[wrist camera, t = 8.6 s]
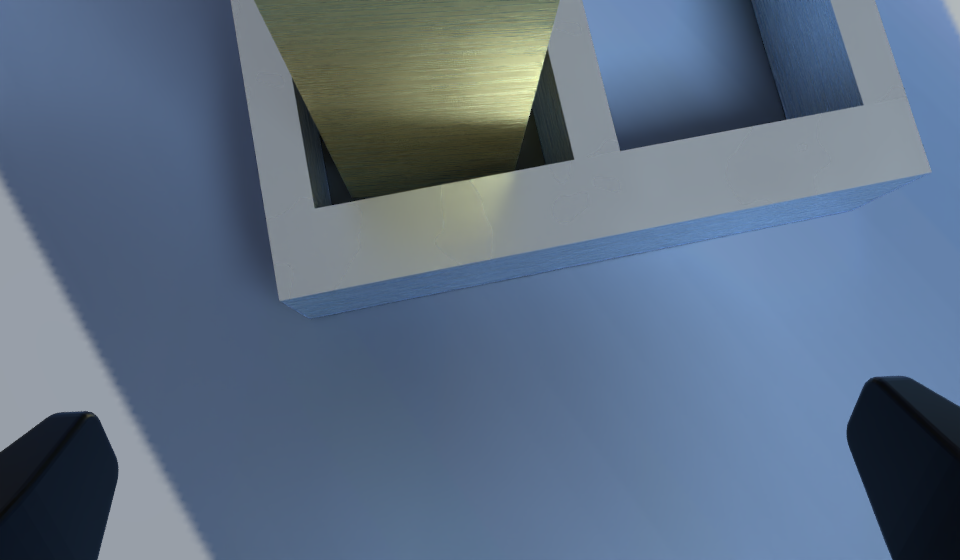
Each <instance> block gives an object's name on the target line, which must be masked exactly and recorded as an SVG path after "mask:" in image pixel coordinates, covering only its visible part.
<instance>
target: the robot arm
mask: <svg viewBox="0 0 960 560" xmlns="http://www.w3.org/2000/svg"><path fill="white" fill-rule="evenodd" d="M847 441H848V445H849V448H850V451H851V453H852V456H853V459H854V461H855V464H856V466H857V469H858V472H859V474H860V477H861V480H862V482H863V485H864V487H865V490H866V493H867V495H868V498H869V501H870V503H871V506H872V508H873V511H874V514H875V516H876V519H877V522H878V524H879V527H880V530H881V532H882V535H883V537H884V540H885V543H886V545H887V547H888V550H889V552H890V555H891V557H892V559H893V560H960V406H958V405H956V404H954V403H953V402H951V401H949V400H947V399H946V398H944V397H942V396H941V395H939V394H937V393H935V392H934V391H932V390H930V389H929V388H927V387H925V386H923V385H922V384H920V383H918V382H916V381H915V380H913V379H911V378H909V377H905V376H884V377H873V378H871V379H869V380H868V381H867V382H866V383H865V384H864V386H863V389H862V391H861V393H860V396H859V398H858V400H857V403H856V405H855V407H854V410H853V412H852V415H851V417H850V419H849V422H848V425H847ZM117 479H118V462H117V458H116V456H115V454H114V451H113V449H112V447H111V444H110V442H109V440H108V438H107V436H106V433H105V431H104V429H103V427H102V425H101V422H100V420H99V419H98V417H97V416H96V415H94V414H93V413H92V412H88V411H84V412H61V413H56V414H53V415H51V416H49V417H48V418H46V419H45V420H43V421H42V422H41V423H39V424H38V425H36V426H35V427H34V428H32V429H31V430H30V431H28V432H27V433H26V434H24V435H23V436H22V437H20V438H19V439H18V440H16V441H15V442H14V443H12V444H11V445H10V446H8V447H7V448H5V449H4V450H3V451H1V452H0V560H97V559H98V555H99V551H100V547H101V543H102V539H103V535H104V531H105V527H106V524H107V520H108V515H109V512H110V508H111V504H112V500H113V496H114V491H115V488H116V484H117Z"/></svg>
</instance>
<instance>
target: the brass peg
mask: <svg viewBox="0 0 960 560" xmlns="http://www.w3.org/2000/svg"><path fill="white" fill-rule="evenodd" d="M559 1H560V0H254V2H255V4H256V6H257V8H258V10H259V12H260V14H261V16H262V18H263V20H264V22H265V24H266V26H267V28H268V30H269V32H270V34H271V36H272V38H273V40H274V42H275V44H276V46H277V48H278V50H279V52H280V54H281V56H282V58H283V60H284V62H285V64H286V66H287V68H288V70H289V72H290V74H291V76H292V78H293V80H294V82H295V84H296V86H297V88H298V90H299V92H300V94H301V96H302V98H303V100H304V102H305V104H306V106H307V108H308V110H309V112H310V114H311V116H312V118H313V120H314V122H315V124H316V126H317V128H318V130H319V132H320V135H321V137H322V139H323V141H324V143H325V145H326V147H327V149H328V151H329V153H330V155H331V157H332V159H333V161H334V163H335V165H336V167H337V169H338V171H339V173H340V175H341V177H342V179H343V181H344V183H345V185H346V187H347V189H348V191H349V193H350V195H351V197H352V198H363V197H377V196H385V195H390V194H395V193H401V192H406V191H411V190H416V189H422V188H427V187H432V186H438V185H443V184H448V183H454V182H459V181H464V180H470V179H475V178H480V177H485V176H491V175H496V174H501V173H507V172H512V171H515V168H516V164H517V160H518V157H519V153H520V149H521V145H522V142H523V138H524V134H525V130H526V126H527V123H528V119H529V115H530V111H531V107H532V104H533V100H534V96H535V92H536V89H537V85H538V81H539V77H540V73H541V70H542V66H543V62H544V58H545V54H546V51H547V47H548V43H549V39H550V35H551V32H552V28H553V24H554V20H555V17H556V13H557V9H558V5H559Z"/></svg>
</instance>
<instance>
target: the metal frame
mask: <svg viewBox="0 0 960 560" xmlns="http://www.w3.org/2000/svg"><path fill="white" fill-rule="evenodd" d="M751 3H752V6H753V10H754V13H755V16H756V20H757V23H758V26H759V30H760V33H761V36H762V40H763V43H764V46H765V50H766V53H767V56H768V60H769V63H770V67H771V70H772V73H773V77H774V80H775V83H776V87H777V90H778V93H779V97H780V100H781V103H782V107H783V110H784V113H785V117H786V120H783V121H777V122H772V123H767V124H762V125H756V126H751V127H746V128H740V129H735V130H730V131H724V132H719V133H714V134H708V135H703V136H698V137H693V138H687V139H682V140H677V141H671V142H666V143H661V144H655V145H650V146H645V147H639V148H634V149H629V150H624V151H620V148H619V144H618V140H617V136H616V132H615V129H614V125H613V121H612V117H611V113H610V109H609V105H608V101H607V97H606V93H605V89H604V85H603V81H602V77H601V73H600V70H599V66H598V62H597V58H596V54H595V50H594V46H593V42H592V38H591V34H590V30H589V26H588V22H587V18H586V14H585V10H584V7H583V3H582V0H560V1H559V5H558V9H557V13H556V17H555V20H554V24H553V28H552V32H551V35H550V39H549V43H548V47H547V51H546V54H545V58H544V62H543V66H542V70H541V73H540V77H539V81H538V85H537V89H536V92H535V96H534V100H533V104H532V109H533V113H534V117H535V121H536V126H537V130H538V134H539V138H540V143H541V147H542V151H543V155H544V160H545V164H546V165H544V166H539V167H533V168H528V169H523V170H517V171H512V172H507V173H501V174H496V175H491V176H485V177H480V178H475V179H470V180H464V181H459V182H454V183H448V184H443V185H438V186H432V187H427V188H422V189H416V190H411V191H406V192H401V193H395V194H390V195H385V196H379V197H374V198H369V199H363V200H358V201H353V202H347V203H342V204H337V205H332V203H331V197H330V192H329V186H328V181H327V175H326V169H325V164H324V158H323V153H322V147H321V141H320V136H319V130H318V128H317V126H316V124H315V122H314V120H313V118H312V116H311V114H310V112H309V110H308V108H307V106H306V104H305V102H304V100H303V98H302V96H301V94H300V92H299V90H298V88H297V86H296V84H295V82H294V80H293V78H292V76H291V74H290V72H289V70H288V68H287V66H286V64H285V62H284V60H283V58H282V56H281V54H280V52H279V50H278V48H277V46H276V44H275V42H274V40H273V38H272V36H271V34H270V32H269V30H268V28H267V26H266V24H265V22H264V20H263V18H262V16H261V14H260V12H259V10H258V8H257V6H256V4H255V2H254V0H231V6H232V12H233V18H234V24H235V30H236V37H237V43H238V49H239V55H240V61H241V68H242V74H243V80H244V86H245V92H246V98H247V105H248V111H249V117H250V123H251V129H252V135H253V142H254V148H255V154H256V160H257V166H258V172H259V179H260V185H261V191H262V197H263V203H264V210H265V216H266V222H267V228H268V234H269V240H270V247H271V253H272V259H273V265H274V271H275V277H276V284H277V290H278V296H279V301H280V302H282V303H283V304H285V305H287V306H289V307H290V308H292V309H294V310H295V311H297V312H299V313H300V314H302V315H304V316H306V317H307V318H309V319H312V318H317V317H322V316H327V315H332V314H337V313H342V312H347V311H353V310H358V309H363V308H368V307H373V306H378V305H383V304H388V303H393V302H398V301H403V300H408V299H413V298H418V297H423V296H428V295H433V294H438V293H443V292H448V291H453V290H458V289H463V288H468V287H473V286H478V285H483V284H488V283H493V282H498V281H503V280H508V279H513V278H518V277H523V276H528V275H533V274H538V273H543V272H548V271H553V270H558V269H563V268H568V267H573V266H578V265H583V264H588V263H593V262H598V261H603V260H608V259H613V258H618V257H623V256H628V255H633V254H638V253H643V252H648V251H653V250H658V249H663V248H668V247H673V246H678V245H683V244H688V243H693V242H698V241H703V240H708V239H713V238H718V237H723V236H728V235H733V234H738V233H743V232H748V231H753V230H758V229H763V228H768V227H773V226H778V225H783V224H788V223H793V222H798V221H803V220H808V219H813V218H818V217H823V216H828V215H833V214H838V213H843V212H848V211H853V210H855V209H857V208H859V207H861V206H863V205H865V204H867V203H869V202H871V201H873V200H875V199H878V198H880V197H882V196H884V195H886V194H888V193H890V192H892V191H894V190H896V189H898V188H900V187H902V186H904V185H907V184H909V183H911V182H913V181H915V180H917V179H919V178H921V177H923V176H925V175H927V174H929V173H931V169H930V166H929V163H928V160H927V157H926V154H925V151H924V148H923V145H922V142H921V139H920V136H919V133H918V130H917V127H916V124H915V120H914V117H913V114H912V111H911V108H910V105H909V102H908V99H907V96H906V93H905V90H904V87H903V84H902V81H901V78H900V75H899V72H898V69H897V66H896V63H895V60H894V57H893V54H892V51H891V48H890V45H889V42H888V39H887V36H886V33H885V30H884V27H883V24H882V21H881V18H880V15H879V12H878V9H877V6H876V3H875V0H751Z"/></svg>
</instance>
